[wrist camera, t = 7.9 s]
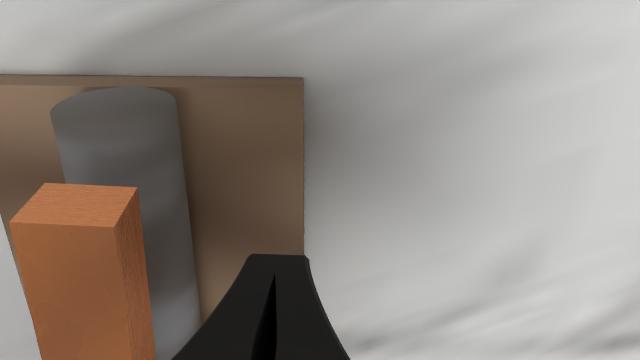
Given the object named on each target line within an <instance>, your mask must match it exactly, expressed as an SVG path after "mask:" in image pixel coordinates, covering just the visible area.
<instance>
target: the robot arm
mask: <svg viewBox="0 0 640 360" xmlns="http://www.w3.org/2000/svg"><path fill="white" fill-rule="evenodd" d="M171 360H350V358H349V356H348V355H347V353H346V351H345V350H344V348H343V346H342V344H341V343H340V341H339V339H338V337H337V335H336V333H335V331H334V330H333V328H332V326H331V324H330V321H329V319H328V317H327V315H326V313H325V310H324V308H323V306H322V303H321V301H320V299H319V296H318V293H317V291H316V288H315V285H314V282H313V278H312V275H311V270H310V265H309V259H308V258H307V257H306V256H305V255H280V254H251V255H250V256H248V257H247V259H246V261H245V263H244V265H243V267H242V269H241V271H240V272H239V274H238V276H237V277H236V279H235V281H234V282H233V284H232V285H231V287H230V288H229V290H228V291H227V293H226V294H225V295H224V297H223V298H222V300H221V301H220V302H219V304H218V305H217V307H216V308H215V309H214V311H213V312H212V313H211V315H210V316H209V317H208V318H207V320H206V321H205V322H204V323H203V324H202V326H201V327H200V328H199V329H198V331H197V332H196V333H195V334H194V335H193V337H192V338H191V339H190V340H189V341H188V342H187V343H186V344H185V345H184V347H183V348H182V349H181V350H180V351H179V352H178V353H177V354H176V355H175V356H174V357H173V358H172V359H171Z"/></svg>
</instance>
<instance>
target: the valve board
mask: <svg viewBox="0 0 640 360" xmlns="http://www.w3.org/2000/svg"><path fill="white" fill-rule="evenodd" d="M44 183H60V184H81V185H101V186H121V187H138V196H139V205H140V214H141V224H142V233H143V242H144V251H145V260H146V269H147V278H148V288H149V297H150V306H151V315H152V324H153V333H154V342H155V351H156V357H155V360H171V359H172V358H173V357H174V356H175V355H176V354H177V353H178V352H179V351H180V350H181V349H182V348H183V347H184V345H185V344H186V343H187V342H188V341H189V340H190V339H191V338H192V337H193V335H194V334H195V333H196V332H197V331H198V329H199V328H200V327H201V326H202V324H203V323H204V322H205V321H206V320H207V318H208V317H209V316H210V315H211V313H212V312H213V311H214V309H215V308H216V307H217V305H218V304H219V302H220V301H221V300H222V298H223V297H224V295H225V294H226V293H227V291H228V290H229V288H230V287H231V285H232V284H233V282H234V281H235V279H236V277H237V276H238V274H239V272H240V271H241V269H242V267H243V265H244V263H245V261H246V259H247V257H248V256H250V255H251V254H280V255H304V113H303V78H275V77H175V76H75V75H0V214H1V217H2V221H3V224H4V227H5V231H6V234H7V237H8V241H9V244H10V247H11V251H12V254H13V257H14V261H15V264H16V267H17V270H18V274H19V277H20V280H21V284H22V287H23V290H24V294H25V297H26V300H27V295H26V291H25V287H24V283H23V279H22V275H21V270H20V266H19V262H18V258H17V254H16V250H15V245H14V241H13V237H12V233H11V229H10V225H9V222H10V220H11V219H12V218H13V217H14V216H15V215H16V214H17V213H18V212H19V211H20V209H21V208H22V207H23V206H24V205H25V204H26V203H27V202H28V201H29V200H30V199H31V197H32V196H33V195H34V194H35V193H36V192H37V191H38V190H39V189H40V188H41V186H42V185H43V184H44ZM27 304H28V300H27ZM28 307H29V304H28ZM29 310H30V308H29ZM30 314H31V312H30ZM31 317H32V316H31Z"/></svg>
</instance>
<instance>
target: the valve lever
mask: <svg viewBox="0 0 640 360" xmlns="http://www.w3.org/2000/svg"><path fill="white" fill-rule="evenodd" d="M9 225H10V229H11V233H12V237H13V241H14V245H15V250H16V254H17V258H18V262H19V266H20V270H21V275H22V279H23V283H24V287H25V291H26V295H27V300H28V304H29V308H30V312H31V316H32V320H33V324H34V329H35V333H36V337H37V341H38V345H39V349H40V354H41V358H42V360H155V357H156V351H155V342H154V333H153V324H152V315H151V306H150V297H149V288H148V278H147V269H146V260H145V251H144V242H143V233H142V224H141V214H140V205H139V196H138V187H121V186H101V185H81V184H60V183H44V184H43V185H42V186H41V188H40V189H39V190H38V191H37V192H36V193H35V194H34V195H33V196H32V197H31V199H30V200H29V201H28V202H27V203H26V204H25V205H24V206H23V207H22V208H21V209H20V211H19V212H18V213H17V214H16V215H15V216H14V217H13V218H12V219H11V220H10V222H9Z"/></svg>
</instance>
